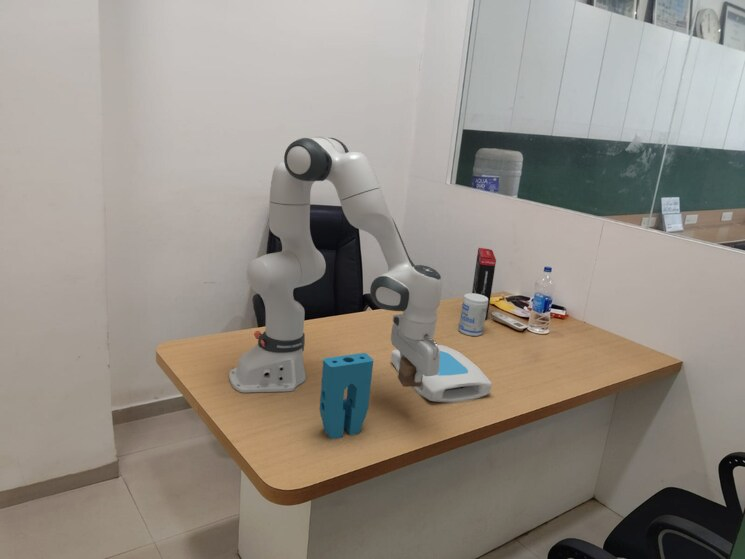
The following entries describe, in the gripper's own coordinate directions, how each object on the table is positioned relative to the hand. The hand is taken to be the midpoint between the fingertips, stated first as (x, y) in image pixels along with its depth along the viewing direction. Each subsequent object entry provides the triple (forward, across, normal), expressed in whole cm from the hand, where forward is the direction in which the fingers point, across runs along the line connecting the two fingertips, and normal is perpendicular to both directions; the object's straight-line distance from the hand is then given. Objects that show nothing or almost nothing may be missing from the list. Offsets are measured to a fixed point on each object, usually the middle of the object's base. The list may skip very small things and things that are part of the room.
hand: (410, 374), depth 146 cm
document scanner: (+13, +16, -21) cm, 29 cm away
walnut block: (+2, 0, 0) cm, 2 cm away
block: (+13, -3, +20) cm, 23 cm away
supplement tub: (+13, +47, -55) cm, 74 cm away
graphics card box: (+13, +65, -72) cm, 98 cm away
